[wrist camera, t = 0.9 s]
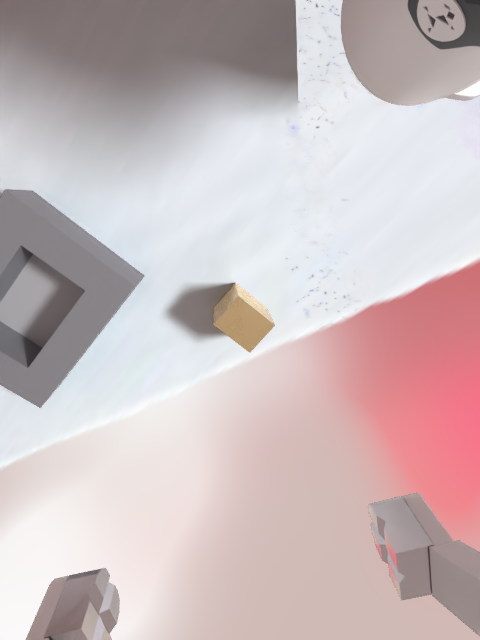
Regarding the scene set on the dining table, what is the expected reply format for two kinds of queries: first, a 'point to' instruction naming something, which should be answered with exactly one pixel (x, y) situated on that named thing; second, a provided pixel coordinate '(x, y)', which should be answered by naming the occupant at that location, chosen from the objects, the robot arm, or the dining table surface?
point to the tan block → (242, 318)
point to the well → (51, 293)
